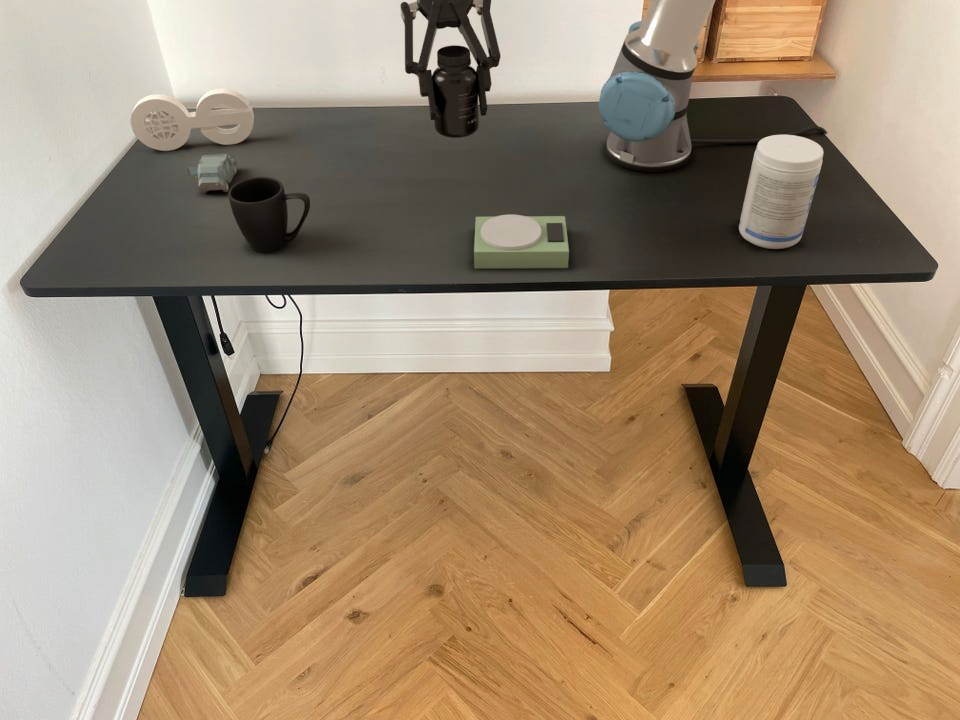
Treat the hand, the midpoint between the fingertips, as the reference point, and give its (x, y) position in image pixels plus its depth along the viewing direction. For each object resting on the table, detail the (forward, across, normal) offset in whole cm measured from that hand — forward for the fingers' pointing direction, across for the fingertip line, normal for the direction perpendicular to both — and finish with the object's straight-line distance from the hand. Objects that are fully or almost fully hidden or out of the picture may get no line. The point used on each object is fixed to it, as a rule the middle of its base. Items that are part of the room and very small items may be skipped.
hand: (458, 114), depth 115 cm
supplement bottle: (0, 0, -5) cm, 5 cm away
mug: (+14, +30, -12) cm, 35 cm away
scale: (+20, -8, -6) cm, 22 cm away
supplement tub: (+22, -47, -5) cm, 52 cm away
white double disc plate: (-13, +46, -39) cm, 62 cm away
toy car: (-2, +42, -28) cm, 50 cm away
